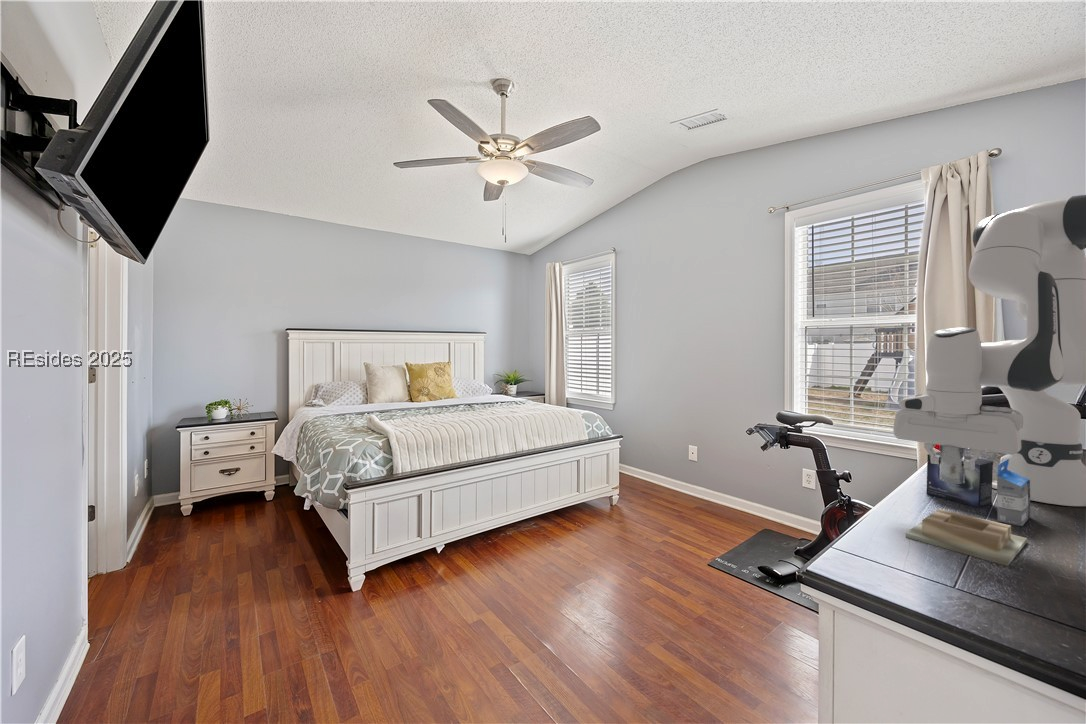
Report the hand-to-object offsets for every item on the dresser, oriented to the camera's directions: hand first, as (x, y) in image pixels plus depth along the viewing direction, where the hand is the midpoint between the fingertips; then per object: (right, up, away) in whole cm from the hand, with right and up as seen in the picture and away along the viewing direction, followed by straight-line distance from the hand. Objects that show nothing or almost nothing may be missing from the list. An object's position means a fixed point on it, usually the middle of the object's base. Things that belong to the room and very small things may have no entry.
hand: (952, 466), depth 96 cm
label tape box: (+13, -12, 0) cm, 17 cm away
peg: (0, -3, 0) cm, 3 cm away
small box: (+13, -11, +12) cm, 21 cm away
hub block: (-7, -12, -10) cm, 17 cm away
